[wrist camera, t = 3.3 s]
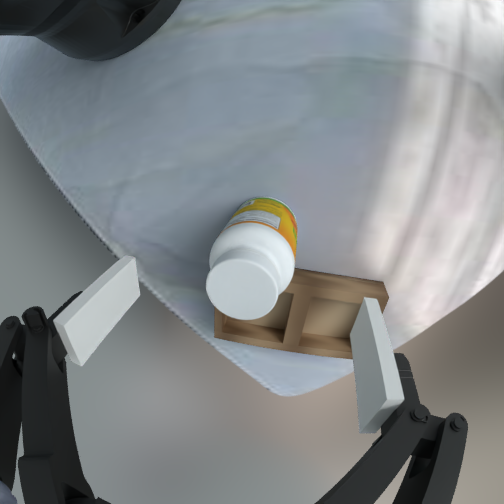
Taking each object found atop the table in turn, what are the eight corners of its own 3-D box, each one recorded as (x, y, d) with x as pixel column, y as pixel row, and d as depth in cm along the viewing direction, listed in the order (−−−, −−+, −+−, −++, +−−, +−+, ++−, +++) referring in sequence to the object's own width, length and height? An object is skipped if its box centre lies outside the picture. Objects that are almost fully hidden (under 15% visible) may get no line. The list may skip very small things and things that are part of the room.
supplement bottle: (290, 260, 24) (280, 338, 16) (230, 247, 25) (192, 317, 16) (303, 202, 22) (302, 259, 13) (238, 189, 22) (195, 236, 14)
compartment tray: (220, 321, 29) (214, 337, 27) (223, 256, 25) (215, 270, 23) (357, 343, 27) (360, 359, 25) (383, 282, 23) (389, 297, 21)
